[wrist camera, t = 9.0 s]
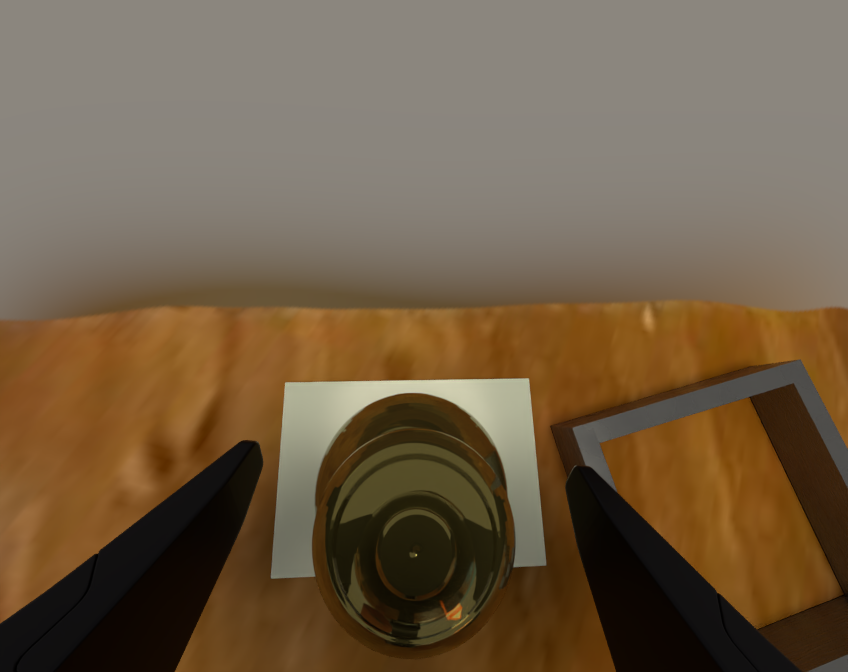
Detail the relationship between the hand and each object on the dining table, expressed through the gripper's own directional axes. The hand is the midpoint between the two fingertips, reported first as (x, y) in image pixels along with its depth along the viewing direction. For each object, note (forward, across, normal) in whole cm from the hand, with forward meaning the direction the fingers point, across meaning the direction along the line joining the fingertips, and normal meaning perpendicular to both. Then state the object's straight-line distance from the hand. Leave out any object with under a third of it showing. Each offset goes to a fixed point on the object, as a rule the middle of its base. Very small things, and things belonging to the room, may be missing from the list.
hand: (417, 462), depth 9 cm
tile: (+5, 0, +7) cm, 9 cm away
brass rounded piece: (+5, 0, +7) cm, 8 cm away
